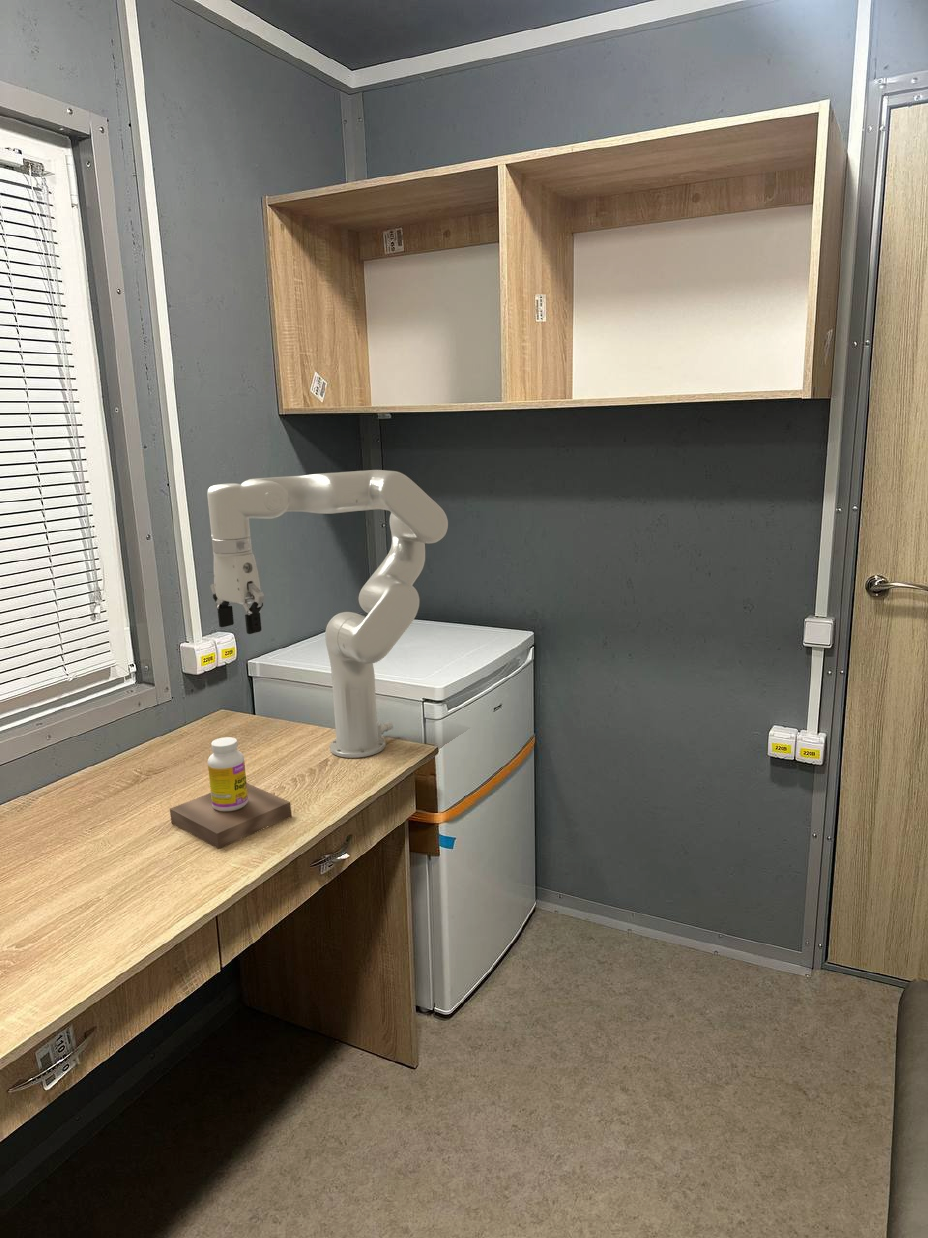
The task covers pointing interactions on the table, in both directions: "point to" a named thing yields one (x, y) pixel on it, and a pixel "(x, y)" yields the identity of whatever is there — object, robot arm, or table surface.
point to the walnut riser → (230, 817)
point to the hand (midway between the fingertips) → (240, 629)
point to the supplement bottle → (227, 775)
